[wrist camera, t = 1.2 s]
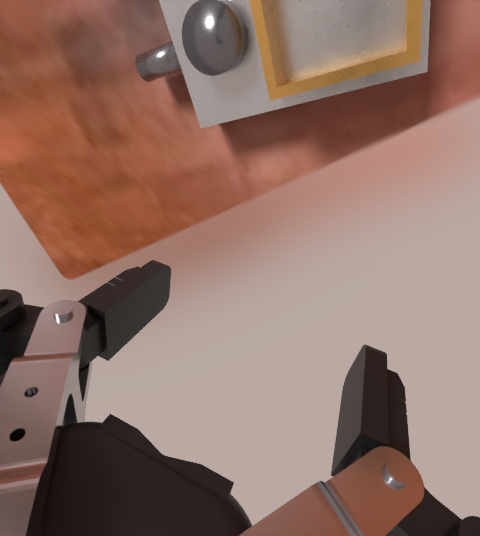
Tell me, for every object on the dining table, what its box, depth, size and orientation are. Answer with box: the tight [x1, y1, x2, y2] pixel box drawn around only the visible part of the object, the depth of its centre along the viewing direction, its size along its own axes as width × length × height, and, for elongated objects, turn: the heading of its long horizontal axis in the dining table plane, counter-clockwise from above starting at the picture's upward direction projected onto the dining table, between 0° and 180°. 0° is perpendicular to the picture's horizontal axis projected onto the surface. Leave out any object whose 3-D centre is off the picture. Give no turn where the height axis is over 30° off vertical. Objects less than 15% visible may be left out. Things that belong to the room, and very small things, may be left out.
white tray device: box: [136, 0, 431, 128], centre depth 25 cm, size 13×25×7 cm, turn 106°
